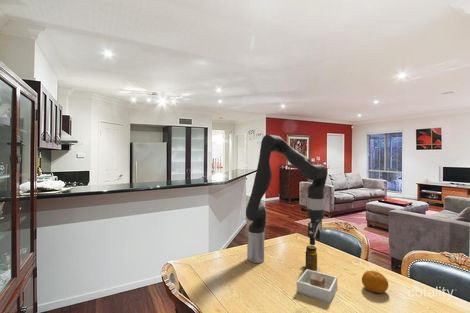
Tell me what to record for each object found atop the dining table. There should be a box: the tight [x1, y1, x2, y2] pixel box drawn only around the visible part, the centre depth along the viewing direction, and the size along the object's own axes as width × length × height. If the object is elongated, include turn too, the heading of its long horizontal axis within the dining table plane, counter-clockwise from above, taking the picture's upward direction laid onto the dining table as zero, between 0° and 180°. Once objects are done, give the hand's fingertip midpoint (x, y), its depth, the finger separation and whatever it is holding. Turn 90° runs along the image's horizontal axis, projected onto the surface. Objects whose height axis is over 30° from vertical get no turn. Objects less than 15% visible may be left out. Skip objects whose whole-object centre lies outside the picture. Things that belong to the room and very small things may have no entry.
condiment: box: [299, 245, 321, 272], centre depth 132 cm, size 7×8×12 cm
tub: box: [296, 269, 338, 304], centre depth 111 cm, size 14×14×5 cm
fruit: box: [361, 270, 389, 294], centre depth 111 cm, size 10×10×8 cm
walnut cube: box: [310, 274, 324, 289], centre depth 111 cm, size 5×5×5 cm
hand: (315, 242), depth 113 cm, fingers open, 8 cm apart
